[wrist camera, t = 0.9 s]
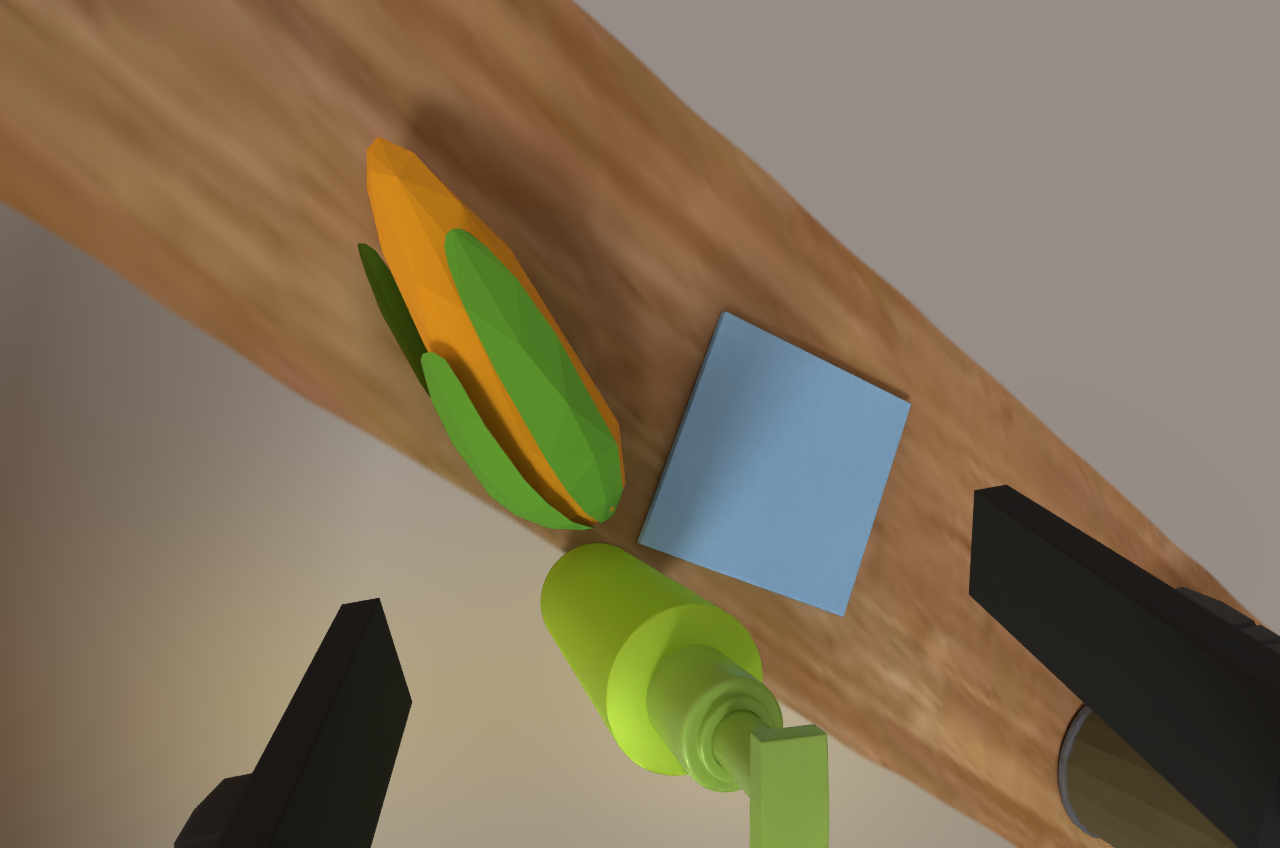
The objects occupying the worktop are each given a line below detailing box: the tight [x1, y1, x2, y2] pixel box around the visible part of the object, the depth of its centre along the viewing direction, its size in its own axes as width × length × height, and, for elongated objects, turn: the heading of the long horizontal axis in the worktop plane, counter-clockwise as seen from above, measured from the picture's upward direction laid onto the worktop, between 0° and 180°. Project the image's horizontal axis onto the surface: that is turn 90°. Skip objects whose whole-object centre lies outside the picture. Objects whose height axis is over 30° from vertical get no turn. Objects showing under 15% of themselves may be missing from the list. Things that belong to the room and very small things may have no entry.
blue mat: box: [637, 311, 911, 616], centre depth 38 cm, size 14×14×1 cm
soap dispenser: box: [541, 543, 829, 848], centre depth 25 cm, size 6×7×20 cm
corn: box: [358, 137, 626, 530], centre depth 29 cm, size 7×8×20 cm
